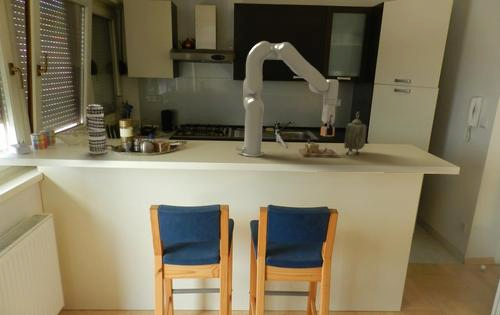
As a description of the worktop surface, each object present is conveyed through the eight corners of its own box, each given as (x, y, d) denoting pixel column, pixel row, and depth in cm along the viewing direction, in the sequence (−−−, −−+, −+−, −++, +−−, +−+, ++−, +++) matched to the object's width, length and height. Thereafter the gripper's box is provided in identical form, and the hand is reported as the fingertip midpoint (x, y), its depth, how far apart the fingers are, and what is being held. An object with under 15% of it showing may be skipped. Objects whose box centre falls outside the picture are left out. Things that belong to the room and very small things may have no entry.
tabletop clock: (348, 150, 201) (353, 109, 195) (363, 152, 197) (369, 111, 191) (343, 155, 189) (347, 111, 183) (359, 157, 185) (364, 113, 179)
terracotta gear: (322, 136, 183) (323, 128, 182) (319, 134, 190) (319, 126, 189) (335, 136, 183) (336, 128, 182) (331, 134, 190) (332, 126, 189)
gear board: (303, 156, 182) (304, 142, 180) (298, 151, 195) (299, 137, 193) (338, 157, 183) (340, 142, 181) (331, 151, 196) (333, 138, 194)
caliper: (276, 142, 221) (276, 132, 219) (277, 142, 221) (278, 132, 220) (285, 148, 202) (286, 138, 200) (287, 148, 202) (287, 138, 200)
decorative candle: (89, 154, 170) (85, 105, 164) (87, 150, 178) (83, 104, 172) (108, 153, 175) (105, 105, 168) (106, 149, 182) (102, 103, 176)
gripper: (319, 100, 190) (317, 131, 195) (327, 103, 173) (324, 136, 178) (332, 101, 191) (329, 131, 195) (341, 103, 174) (338, 136, 178)
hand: (327, 133), depth 186 cm, fingers closed on terracotta gear, 7 cm apart
